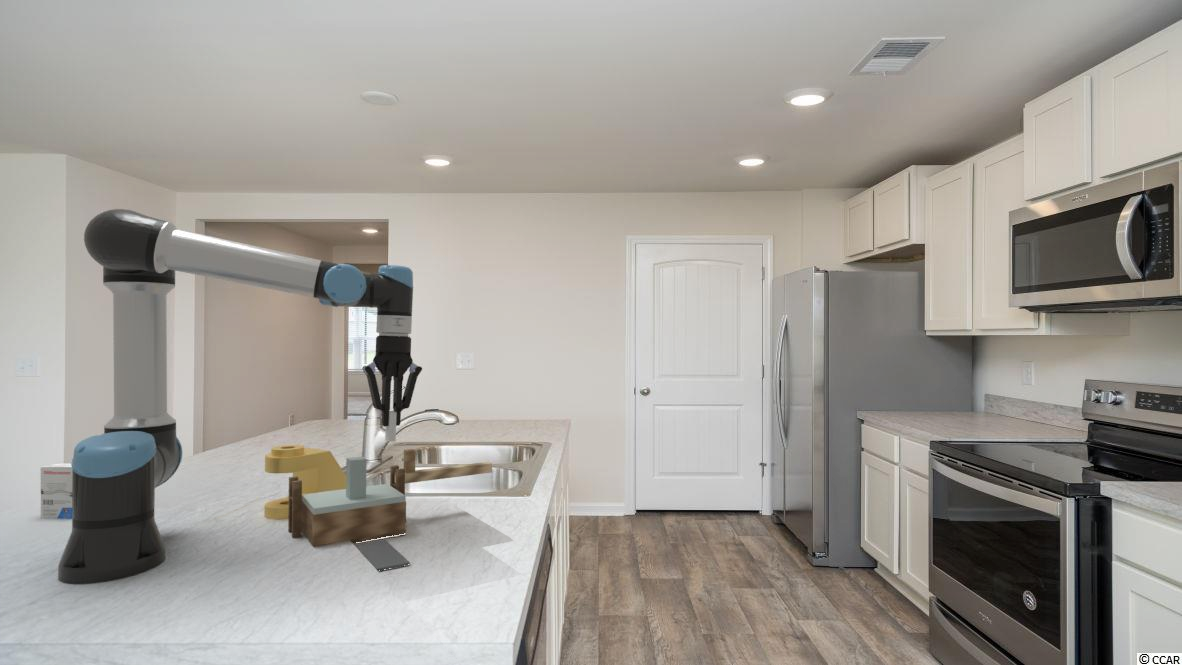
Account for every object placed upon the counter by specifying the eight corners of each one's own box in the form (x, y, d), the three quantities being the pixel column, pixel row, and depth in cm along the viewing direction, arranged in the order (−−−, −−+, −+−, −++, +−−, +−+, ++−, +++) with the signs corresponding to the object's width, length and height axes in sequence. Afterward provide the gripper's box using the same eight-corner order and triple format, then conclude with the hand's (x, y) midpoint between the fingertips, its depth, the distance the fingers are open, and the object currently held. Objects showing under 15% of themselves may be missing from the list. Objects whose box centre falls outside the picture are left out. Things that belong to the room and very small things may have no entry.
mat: (288, 590, 102) (288, 586, 102) (274, 562, 114) (274, 559, 114) (409, 565, 113) (409, 562, 113) (385, 542, 126) (385, 539, 126)
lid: (313, 514, 120) (314, 466, 121) (301, 500, 131) (302, 456, 131) (405, 501, 131) (405, 457, 131) (387, 489, 141) (387, 448, 141)
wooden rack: (300, 553, 119) (300, 490, 119) (288, 535, 130) (288, 477, 130) (416, 533, 132) (417, 476, 132) (396, 517, 143) (397, 465, 143)
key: (397, 484, 139) (397, 452, 139) (394, 482, 141) (394, 450, 141) (491, 472, 152) (492, 442, 152) (488, 470, 154) (488, 441, 154)
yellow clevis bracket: (281, 525, 137) (282, 452, 137) (255, 519, 141) (256, 448, 141) (355, 504, 154) (356, 439, 154) (330, 499, 159) (331, 436, 159)
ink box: (93, 513, 145) (93, 462, 145) (73, 520, 140) (74, 467, 140) (59, 512, 146) (60, 461, 146) (38, 518, 141) (39, 466, 141)
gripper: (368, 334, 133) (364, 445, 133) (428, 336, 141) (424, 441, 140) (359, 334, 139) (355, 440, 139) (416, 335, 147) (413, 436, 146)
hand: (390, 440), depth 140 cm, fingers closed
